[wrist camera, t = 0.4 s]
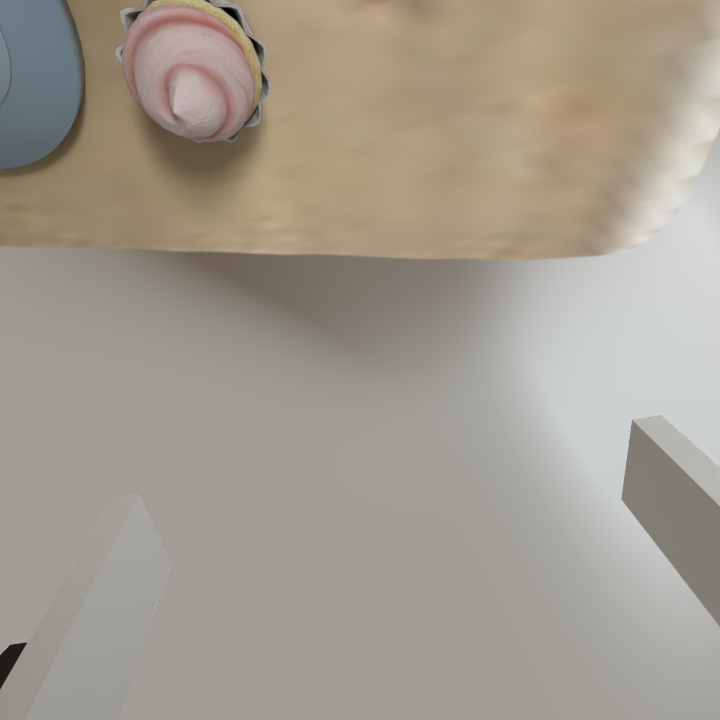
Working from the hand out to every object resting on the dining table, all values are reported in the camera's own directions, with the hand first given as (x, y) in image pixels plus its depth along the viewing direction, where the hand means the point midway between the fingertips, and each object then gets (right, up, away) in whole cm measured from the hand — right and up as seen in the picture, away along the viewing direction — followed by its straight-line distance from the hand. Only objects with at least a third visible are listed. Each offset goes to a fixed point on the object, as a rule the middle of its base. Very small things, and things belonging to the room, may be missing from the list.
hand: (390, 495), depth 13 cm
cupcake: (-11, +25, +20) cm, 34 cm away
